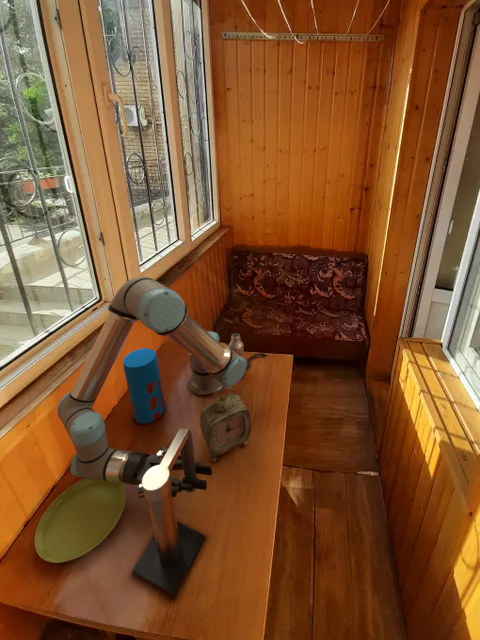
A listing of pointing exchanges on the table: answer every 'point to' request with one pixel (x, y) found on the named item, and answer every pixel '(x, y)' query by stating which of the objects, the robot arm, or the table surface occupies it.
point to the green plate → (79, 519)
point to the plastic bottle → (237, 344)
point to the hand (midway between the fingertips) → (208, 477)
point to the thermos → (144, 385)
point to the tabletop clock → (225, 423)
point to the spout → (170, 467)
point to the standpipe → (168, 549)
